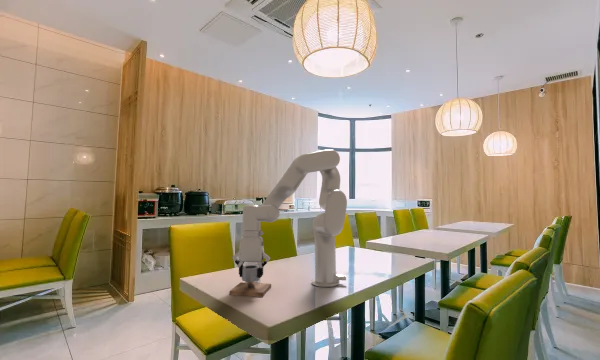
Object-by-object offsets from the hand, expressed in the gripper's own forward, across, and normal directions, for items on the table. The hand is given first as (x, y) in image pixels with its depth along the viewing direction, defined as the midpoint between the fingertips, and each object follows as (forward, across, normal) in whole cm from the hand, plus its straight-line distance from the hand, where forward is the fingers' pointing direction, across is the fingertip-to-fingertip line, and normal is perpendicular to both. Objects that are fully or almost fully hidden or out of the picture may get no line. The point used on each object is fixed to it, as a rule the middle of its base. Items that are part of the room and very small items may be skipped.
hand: (250, 276), depth 117 cm
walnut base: (+6, 0, 0) cm, 6 cm away
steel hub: (+1, 0, 0) cm, 1 cm away
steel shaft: (+4, 0, 0) cm, 4 cm away
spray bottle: (+6, +3, -11) cm, 13 cm away
